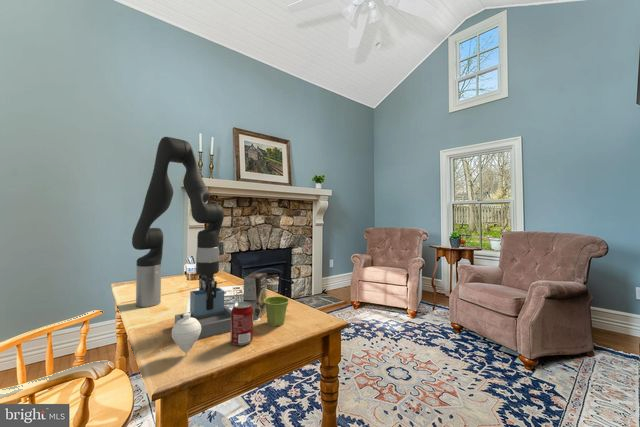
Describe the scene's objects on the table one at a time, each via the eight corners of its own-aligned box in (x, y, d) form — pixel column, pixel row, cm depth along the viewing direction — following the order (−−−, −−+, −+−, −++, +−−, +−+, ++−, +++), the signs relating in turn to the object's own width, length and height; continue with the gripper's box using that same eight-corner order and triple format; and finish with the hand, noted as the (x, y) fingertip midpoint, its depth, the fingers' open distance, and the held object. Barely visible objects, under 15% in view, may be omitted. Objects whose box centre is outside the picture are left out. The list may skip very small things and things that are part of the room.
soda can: (253, 345, 86) (253, 307, 86) (230, 348, 84) (230, 308, 84) (252, 336, 92) (252, 300, 92) (230, 338, 90) (231, 301, 90)
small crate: (190, 311, 98) (190, 291, 98) (218, 305, 104) (219, 287, 104) (194, 316, 93) (194, 295, 93) (224, 310, 99) (224, 291, 99)
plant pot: (273, 316, 110) (273, 294, 110) (293, 321, 106) (293, 298, 105) (257, 325, 101) (258, 301, 101) (279, 330, 97) (279, 305, 97)
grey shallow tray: (174, 326, 99) (174, 314, 99) (225, 315, 110) (225, 305, 110) (183, 342, 87) (183, 329, 87) (239, 328, 98) (239, 317, 98)
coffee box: (257, 320, 106) (258, 277, 106) (242, 318, 107) (243, 276, 107) (267, 311, 115) (267, 272, 115) (252, 310, 116) (253, 271, 116)
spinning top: (195, 362, 76) (195, 318, 76) (166, 363, 75) (166, 319, 75) (204, 348, 83) (205, 308, 83) (178, 349, 83) (178, 309, 83)
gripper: (191, 257, 102) (191, 303, 102) (202, 264, 90) (201, 315, 90) (212, 256, 106) (212, 299, 106) (225, 261, 95) (224, 310, 95)
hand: (207, 306), depth 98 cm, fingers closed on small crate, 6 cm apart
